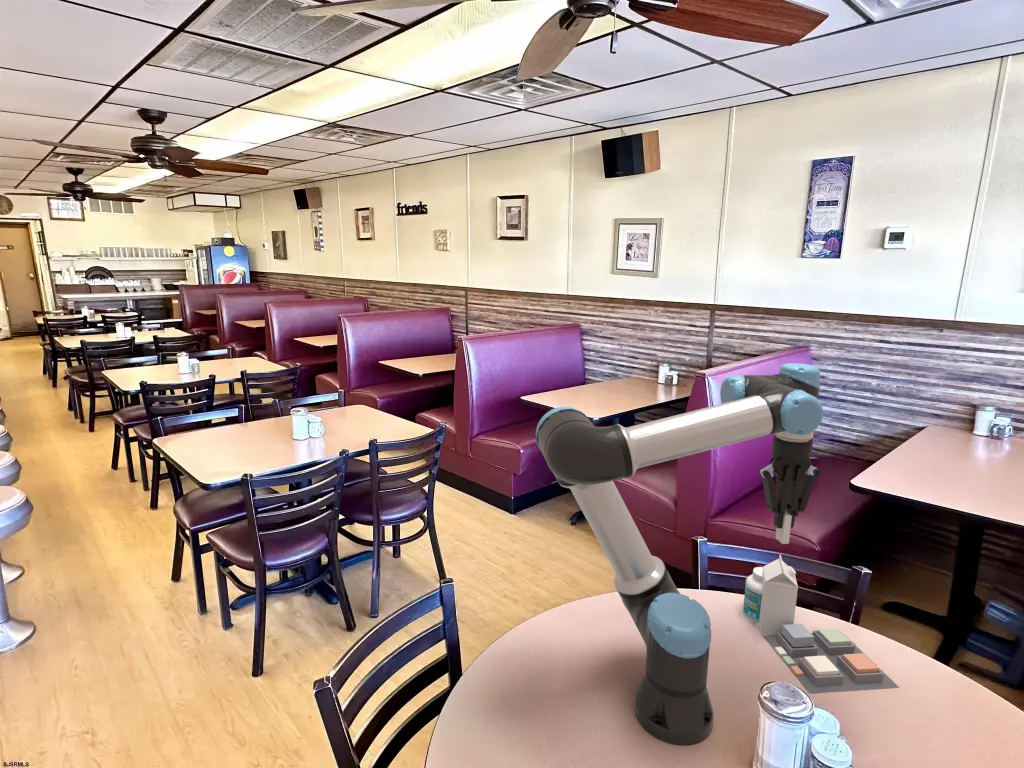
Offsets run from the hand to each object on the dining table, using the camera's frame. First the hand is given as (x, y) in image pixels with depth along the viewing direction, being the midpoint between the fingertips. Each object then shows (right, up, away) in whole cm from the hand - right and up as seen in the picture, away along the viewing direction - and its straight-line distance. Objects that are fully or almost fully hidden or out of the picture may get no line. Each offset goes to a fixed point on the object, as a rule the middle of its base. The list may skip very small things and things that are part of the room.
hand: (782, 540), depth 124 cm
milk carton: (+6, -27, +17) cm, 32 cm away
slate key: (+7, -25, +8) cm, 27 cm away
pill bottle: (+4, -26, +21) cm, 34 cm away
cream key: (+8, -29, -1) cm, 30 cm away
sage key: (+16, -27, +9) cm, 33 cm away
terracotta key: (+17, -29, 0) cm, 33 cm away
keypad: (+12, -29, +4) cm, 32 cm away
